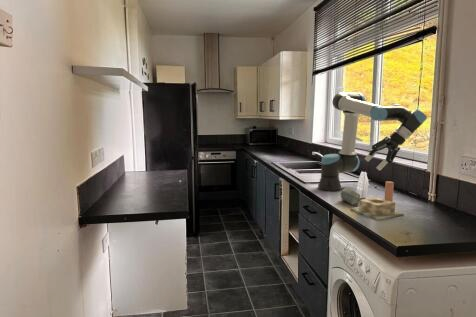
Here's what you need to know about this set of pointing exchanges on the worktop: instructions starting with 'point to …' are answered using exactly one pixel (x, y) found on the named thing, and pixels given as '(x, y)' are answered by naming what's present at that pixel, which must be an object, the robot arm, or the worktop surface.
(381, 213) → the socket
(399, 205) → the worktop surface
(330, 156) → the robot arm
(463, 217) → the worktop surface
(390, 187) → the peg
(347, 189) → the green striped ellipsoid
